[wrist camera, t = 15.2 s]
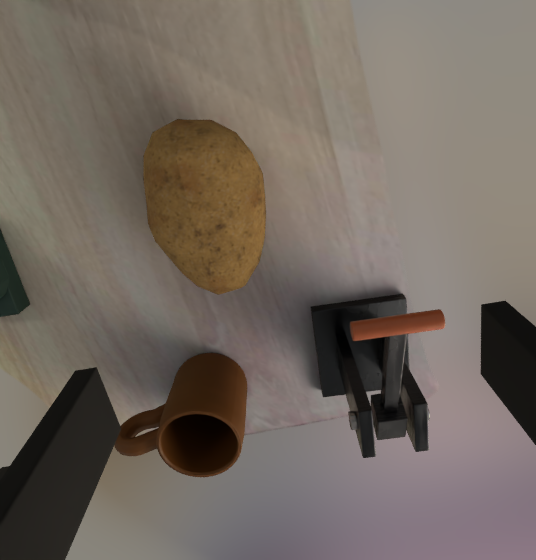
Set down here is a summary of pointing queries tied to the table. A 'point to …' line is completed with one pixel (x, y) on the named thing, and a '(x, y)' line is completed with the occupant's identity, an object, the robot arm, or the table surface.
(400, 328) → the lever
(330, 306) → the bracket
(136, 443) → the mug
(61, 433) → the robot arm
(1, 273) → the button block
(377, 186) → the table surface
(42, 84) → the table surface
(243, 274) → the potato
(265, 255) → the table surface
